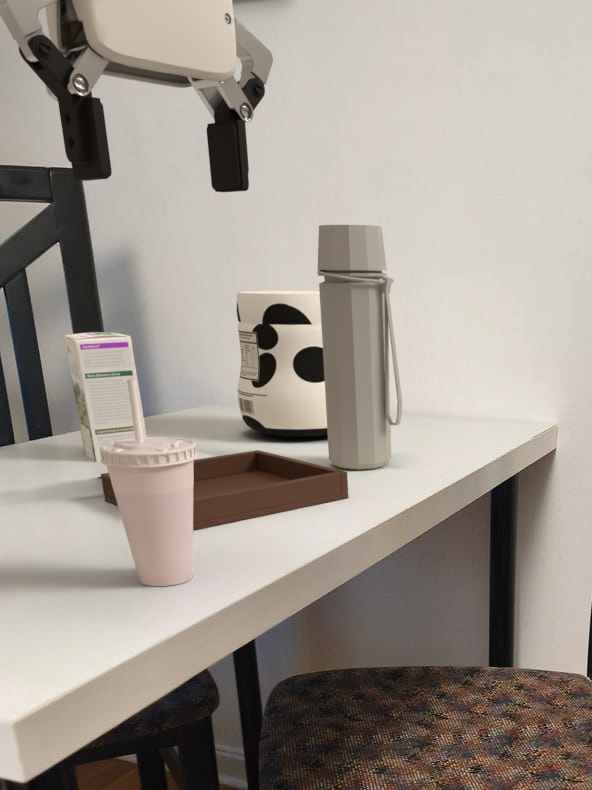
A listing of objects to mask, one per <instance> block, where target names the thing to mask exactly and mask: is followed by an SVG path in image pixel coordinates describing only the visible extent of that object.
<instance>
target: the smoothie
mask: <svg viewBox="0 0 592 790" xmlns="http://www.w3.org/2000/svg"><path fill="white" fill-rule="evenodd" d="M127 384H128V391H129V398H130V405H131V412H132V419H133V427H134V434H135V438H132V439H124V440H118V441H113V442H109V443H106V444H104V445H102V446H101V447H100V455H101V462H100V463H101V464H103V465H104V466H106V468H107V471H108V472H107V473H109V476H110V479H111V483H112V487H113V490H114V493H115V497H116V500H117V504H118V505H117V507H118V510H119V511H118V512H119V515H120V517H121V522H122V524H123V527H124V532H125V535H126V538H127V539H126V540H127V542H128V545H129V549H130V552H131V556H132V559H133V564H134V567H135V570H136V573H137V577H138V580H139V583H140V584H142V585H144V586H149V587H169V586H170V587H171V586H176V585H181V584H183V583H186V582H188V581H190V580H191V579H192V578H194V577H193V575H194V571H193V569H194V530H193V485H194V467H193V463H194V460H196V459H198V458H199V454H198V450H197V442H196V441H194V440H192V439H188V438H184V437H176V436H175V437H174V436H147V437H144V436H143V429H142V422H141V415H140V407H139V400H138V393H137V385H136V379H127Z"/></svg>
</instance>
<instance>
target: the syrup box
mask: <svg viewBox="0 0 592 790" xmlns="http://www.w3.org/2000/svg"><path fill="white" fill-rule="evenodd" d="M64 342H65V348H66V349H65V350H66V354H67V355H66V356H67V361H68V367H69V372H70V377H71V384H72V389H73V393H74V400H75V404H76V411H77V416H78V423H79V428H80V434H81V439H82V445H83V451H84V455H86V456H87V457H88V458H90V460H93V461H94V462H96V463H99V462H100V463H101V455H100V447H101V446H102V445H104V444H106V443H109V442H113V441H118V440H124V439H132V438H135V434H134V427H133V419H132V412H131V405H130V398H129V391H128V384H127V379H136V385H137V393H138V400H139V407H140V415H141V422H142V429H143V436H144V437H148V436H147V431H146V425H145V424H146V423H145V418H144V412H143V405H142V397H141V393H140V386H139V381H138V373H137V367H136V362H135V361H136V360H135V354H134V350H133V342H132V337H131V335H127V334H122V333H118V332H111V331H109V332H105V331H92V332H90V331H89V332H79V333H71V334H64ZM97 478H98V479H101V476H98V477H97Z"/></svg>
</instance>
